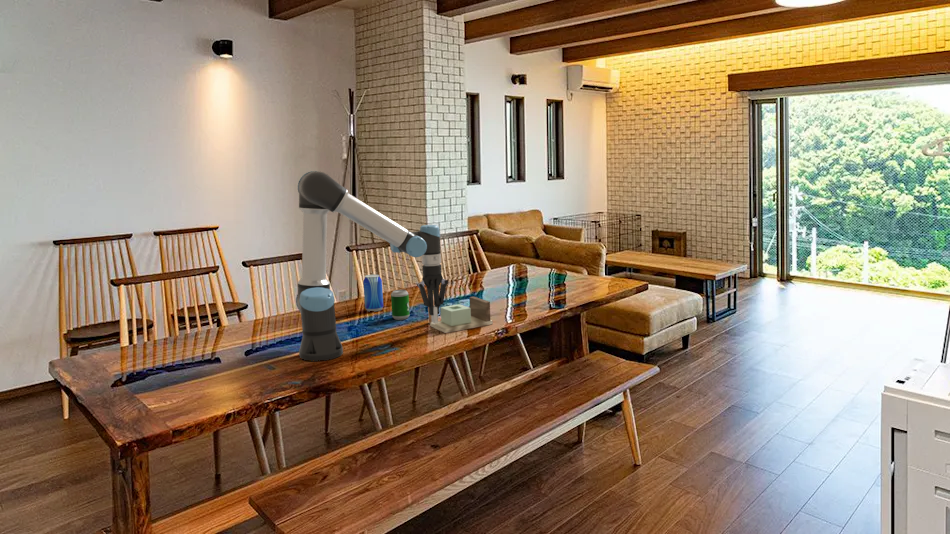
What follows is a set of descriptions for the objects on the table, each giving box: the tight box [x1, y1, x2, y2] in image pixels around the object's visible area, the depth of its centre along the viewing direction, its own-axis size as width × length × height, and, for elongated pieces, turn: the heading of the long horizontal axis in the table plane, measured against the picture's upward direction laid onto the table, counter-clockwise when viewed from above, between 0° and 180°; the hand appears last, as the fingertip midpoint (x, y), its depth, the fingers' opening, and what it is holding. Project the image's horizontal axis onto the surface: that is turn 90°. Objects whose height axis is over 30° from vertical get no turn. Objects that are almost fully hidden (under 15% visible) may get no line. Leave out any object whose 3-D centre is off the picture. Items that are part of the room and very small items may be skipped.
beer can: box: [362, 274, 384, 312], centre depth 293 cm, size 8×8×16 cm
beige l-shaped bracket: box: [429, 296, 494, 334], centre depth 260 cm, size 22×13×10 cm, turn 120°
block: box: [439, 303, 471, 326], centre depth 259 cm, size 9×9×6 cm
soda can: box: [390, 289, 411, 321], centre depth 276 cm, size 8×8×12 cm
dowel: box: [427, 293, 434, 325], centre depth 265 cm, size 3×3×12 cm
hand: (434, 322), depth 254 cm, fingers closed
